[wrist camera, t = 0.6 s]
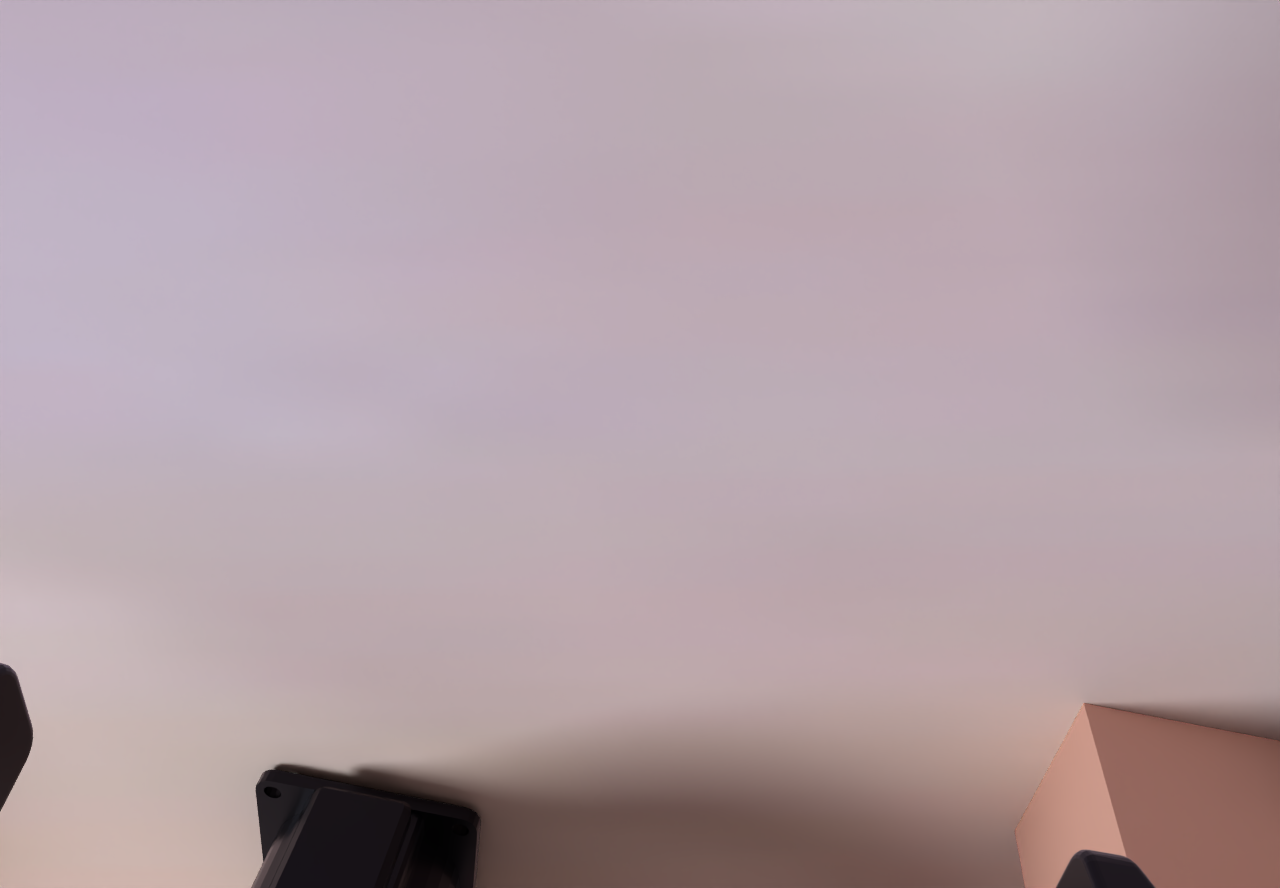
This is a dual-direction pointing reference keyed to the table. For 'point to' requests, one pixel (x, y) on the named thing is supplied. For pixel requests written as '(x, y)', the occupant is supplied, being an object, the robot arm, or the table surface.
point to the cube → (1157, 803)
